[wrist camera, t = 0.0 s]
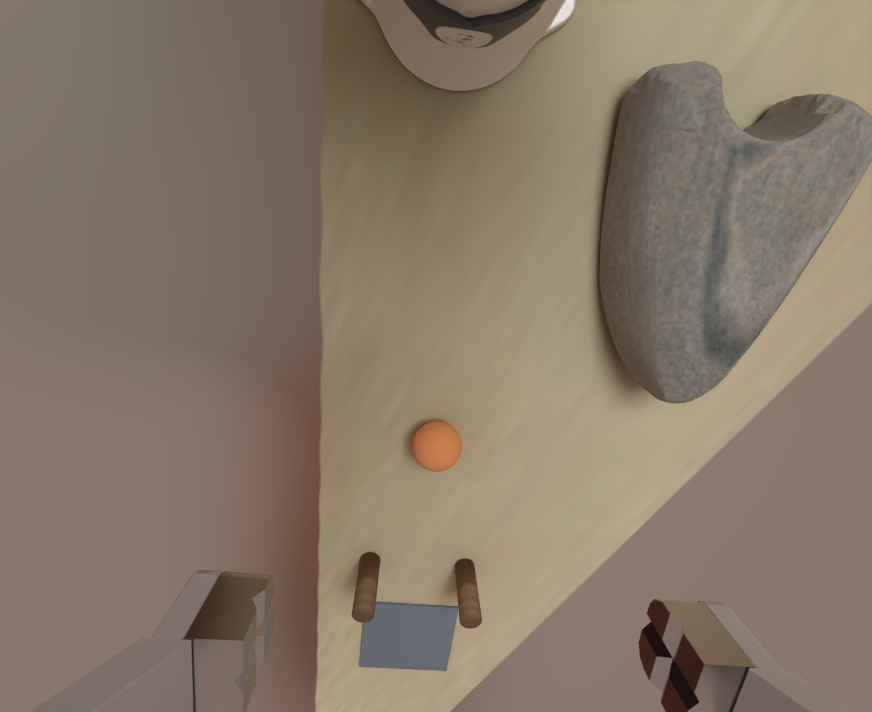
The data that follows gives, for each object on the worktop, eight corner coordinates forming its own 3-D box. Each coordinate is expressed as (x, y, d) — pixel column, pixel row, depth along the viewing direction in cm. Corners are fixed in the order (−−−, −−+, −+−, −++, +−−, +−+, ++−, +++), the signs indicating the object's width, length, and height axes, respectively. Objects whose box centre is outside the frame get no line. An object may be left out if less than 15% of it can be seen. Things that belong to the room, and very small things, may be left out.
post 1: (360, 551, 59) (352, 605, 51) (380, 553, 59) (375, 606, 52) (359, 566, 60) (351, 621, 52) (379, 567, 60) (373, 623, 53)
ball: (415, 410, 52) (414, 435, 46) (462, 414, 52) (467, 440, 47) (410, 451, 54) (409, 479, 48) (456, 454, 54) (459, 483, 49)
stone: (751, 427, 44) (560, 394, 41) (691, 378, 54) (532, 348, 51) (943, 108, 33) (699, 32, 30) (825, 116, 42) (630, 59, 39)
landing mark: (364, 601, 62) (364, 602, 62) (458, 606, 63) (458, 608, 63) (359, 665, 67) (359, 666, 67) (446, 669, 68) (446, 670, 68)
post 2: (456, 558, 60) (461, 611, 52) (475, 559, 60) (483, 613, 53) (453, 572, 61) (458, 627, 53) (472, 574, 61) (480, 629, 54)
